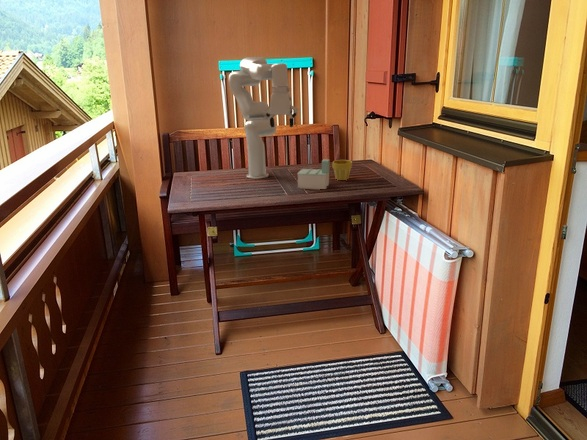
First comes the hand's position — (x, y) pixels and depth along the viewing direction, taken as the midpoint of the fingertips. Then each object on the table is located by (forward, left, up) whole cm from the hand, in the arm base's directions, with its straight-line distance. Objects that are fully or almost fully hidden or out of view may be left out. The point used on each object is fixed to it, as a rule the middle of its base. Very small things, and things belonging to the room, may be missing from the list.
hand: (282, 126), depth 224 cm
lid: (-4, +15, -24) cm, 29 cm away
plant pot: (-21, +27, -31) cm, 46 cm away
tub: (-4, +15, -31) cm, 34 cm away
